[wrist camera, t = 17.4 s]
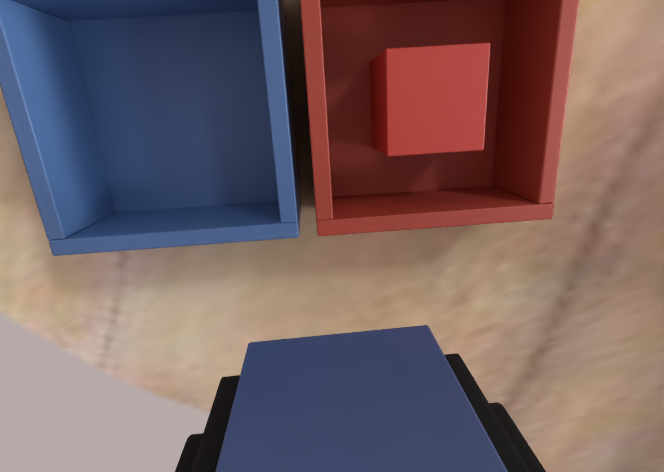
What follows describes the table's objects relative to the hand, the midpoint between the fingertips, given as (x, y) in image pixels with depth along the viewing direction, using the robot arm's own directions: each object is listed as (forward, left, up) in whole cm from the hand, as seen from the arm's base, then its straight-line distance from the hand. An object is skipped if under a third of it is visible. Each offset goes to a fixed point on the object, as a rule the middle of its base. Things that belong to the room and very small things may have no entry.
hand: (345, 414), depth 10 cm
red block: (-8, +5, -14) cm, 17 cm away
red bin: (-8, +5, -15) cm, 18 cm away
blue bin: (-8, -7, -15) cm, 18 cm away
